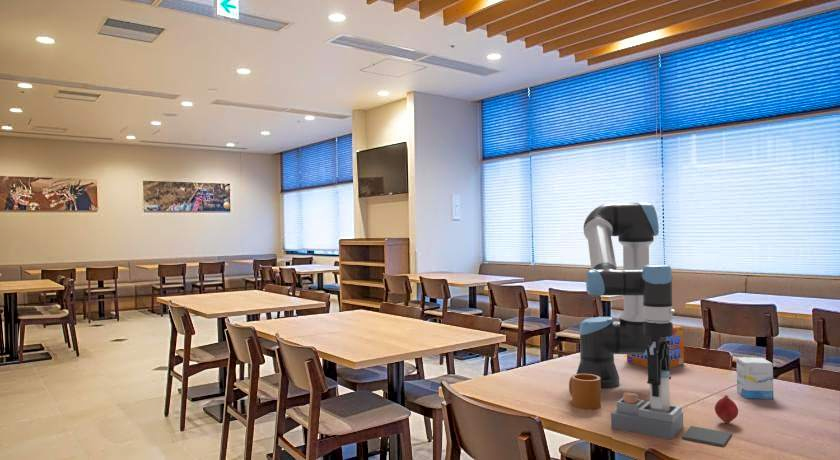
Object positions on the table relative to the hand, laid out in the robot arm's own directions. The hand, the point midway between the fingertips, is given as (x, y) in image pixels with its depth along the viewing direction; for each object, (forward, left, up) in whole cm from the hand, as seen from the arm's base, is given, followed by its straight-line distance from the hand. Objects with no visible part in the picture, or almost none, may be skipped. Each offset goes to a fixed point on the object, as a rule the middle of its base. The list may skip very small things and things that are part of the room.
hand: (659, 405), depth 159 cm
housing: (-3, 0, -7) cm, 8 cm away
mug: (-26, +11, -7) cm, 30 cm away
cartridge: (0, 0, -3) cm, 3 cm away
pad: (+12, +1, -7) cm, 13 cm away
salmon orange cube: (-8, 0, -2) cm, 8 cm away
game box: (-24, +80, -7) cm, 84 cm away
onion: (+14, +16, -7) cm, 22 cm away
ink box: (+16, +51, -7) cm, 54 cm away
